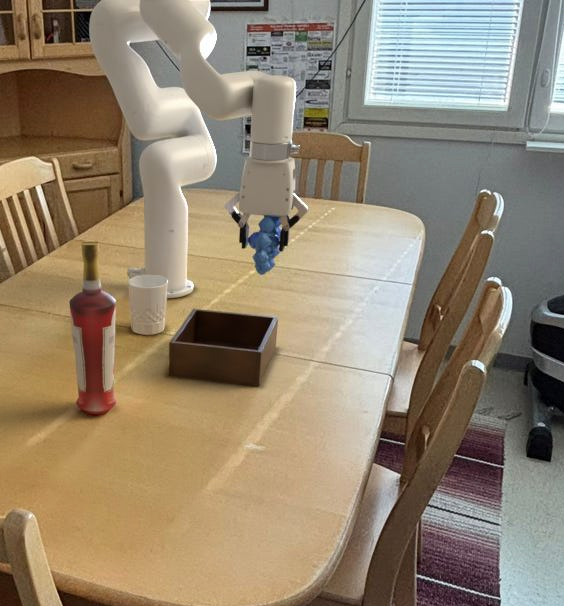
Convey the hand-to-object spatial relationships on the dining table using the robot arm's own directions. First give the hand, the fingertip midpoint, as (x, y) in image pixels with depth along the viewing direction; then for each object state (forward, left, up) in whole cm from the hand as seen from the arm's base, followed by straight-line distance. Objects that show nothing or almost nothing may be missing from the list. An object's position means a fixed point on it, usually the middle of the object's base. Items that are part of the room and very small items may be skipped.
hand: (263, 247), depth 168 cm
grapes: (0, 0, -5) cm, 5 cm away
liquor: (-19, -46, -16) cm, 52 cm away
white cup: (-21, -9, -16) cm, 28 cm away
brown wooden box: (-3, -21, -16) cm, 26 cm away
